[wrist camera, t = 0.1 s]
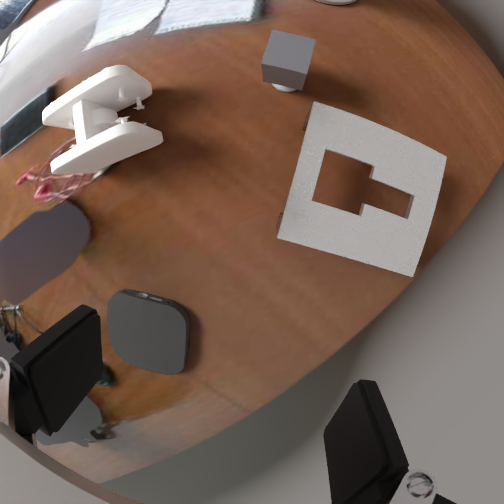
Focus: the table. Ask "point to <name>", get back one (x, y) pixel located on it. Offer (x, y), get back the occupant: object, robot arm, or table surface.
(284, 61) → the peg
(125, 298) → the media streaming box
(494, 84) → the table surface
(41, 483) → the robot arm
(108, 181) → the table surface
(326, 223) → the miniature table
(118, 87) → the cable organizer
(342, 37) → the table surface
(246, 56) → the table surface
